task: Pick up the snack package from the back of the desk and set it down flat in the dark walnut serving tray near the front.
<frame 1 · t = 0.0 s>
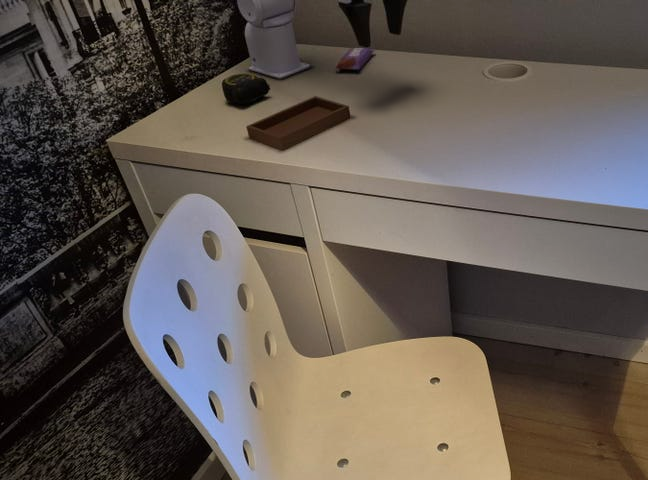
hand: (380, 39, 113), 10 cm above the table, tool pointing down, fingers open, 7 cm apart
tray: (301, 127, 111), on the table
snack package: (356, 64, 134), on the table
tape measure: (249, 101, 121), on the table
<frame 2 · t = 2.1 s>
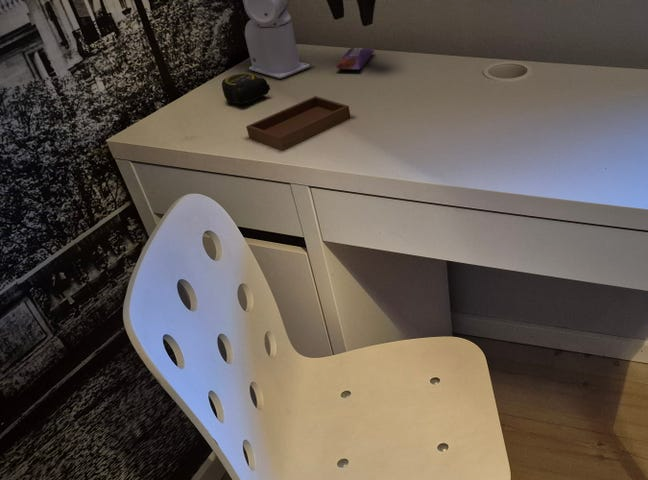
hand: (353, 21, 126), 9 cm above the table, tool pointing down, fingers open, 7 cm apart
nothing on the table moved.
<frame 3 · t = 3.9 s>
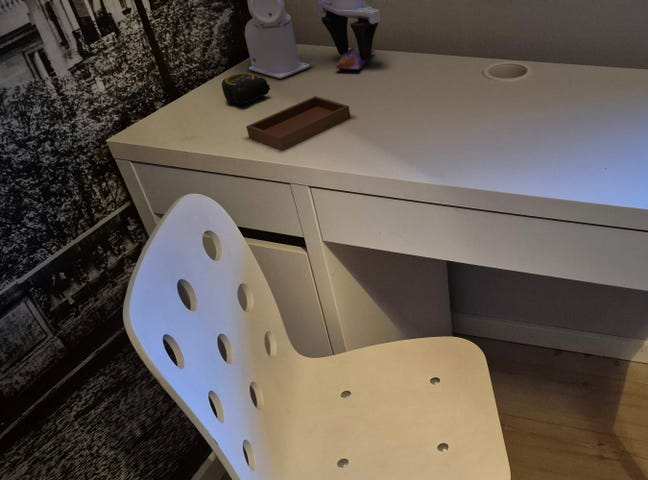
hand: (355, 56, 133), 1 cm above the table, tool pointing down, fingers closed on snack package, 6 cm apart
snack package: (356, 64, 134), on the table, touching gripper
everything else where it was.
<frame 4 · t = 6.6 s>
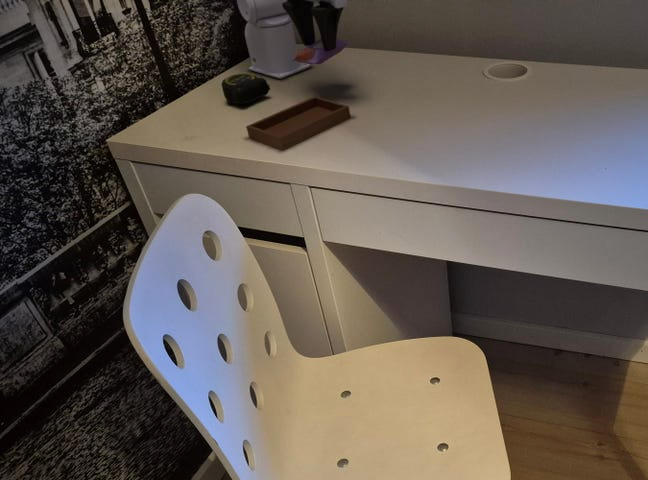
hand: (320, 47, 116), 8 cm above the table, tool pointing down, fingers closed on snack package, 4 cm apart
snack package: (322, 57, 117), point 7 cm above the table, touching gripper
everything else where it was.
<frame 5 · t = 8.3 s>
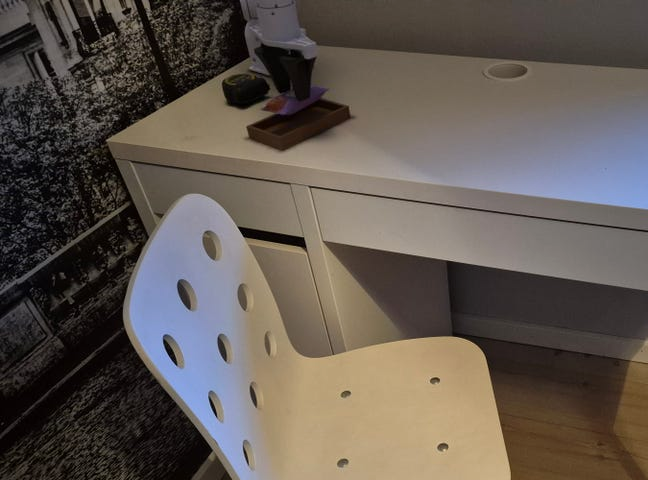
hand: (294, 95, 108), 5 cm above the table, tool pointing down, fingers closed on snack package, 4 cm apart
snack package: (297, 106, 109), point 4 cm above the table, touching gripper
everything else where it was.
when the fingers open (2 cm above the table, at t = 9.5 s): snack package stays where it is, resting on tray.
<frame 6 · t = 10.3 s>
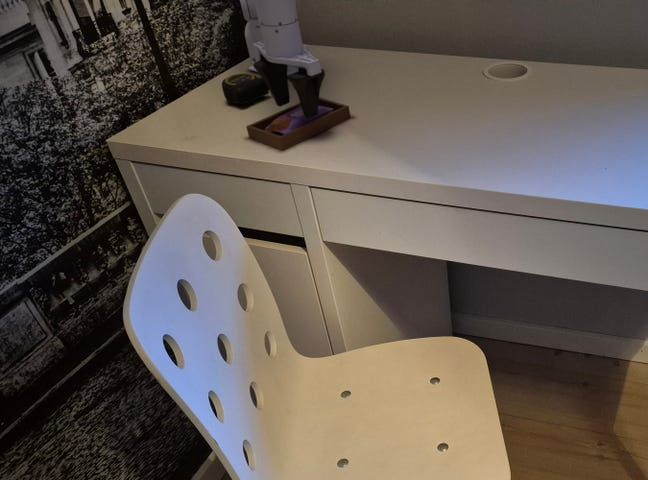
hand: (297, 110, 109), 3 cm above the table, tool pointing down, fingers open, 7 cm apart
snack package: (301, 125, 111), resting on tray
everything else where it was.
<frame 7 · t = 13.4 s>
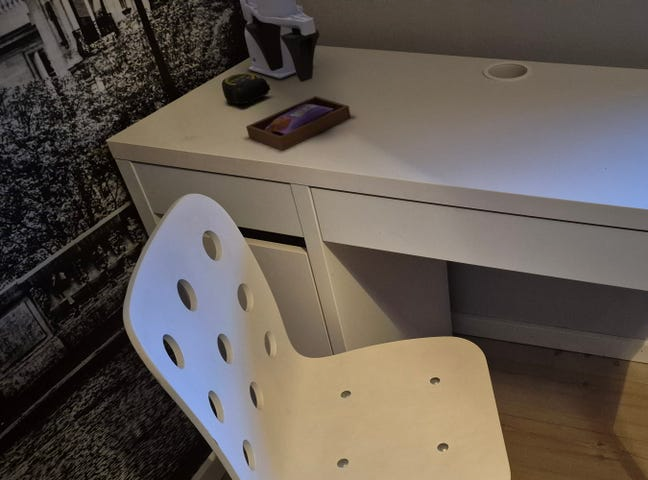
hand: (291, 74, 106), 8 cm above the table, tool pointing down, fingers open, 7 cm apart
nothing on the table moved.
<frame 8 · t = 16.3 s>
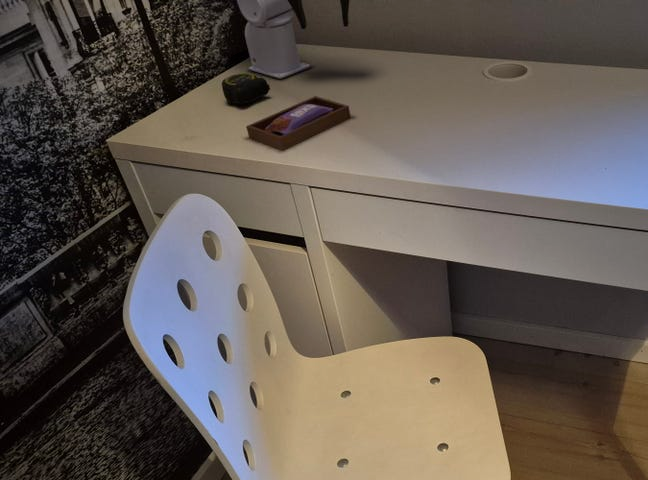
hand: (325, 26, 121), 9 cm above the table, tool pointing down, fingers open, 7 cm apart
nothing on the table moved.
at the end: snack package inside the target area in the tray (0.2 cm from its centre), point 0.3 cm above the tray's base; the gripper is holding nothing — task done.
